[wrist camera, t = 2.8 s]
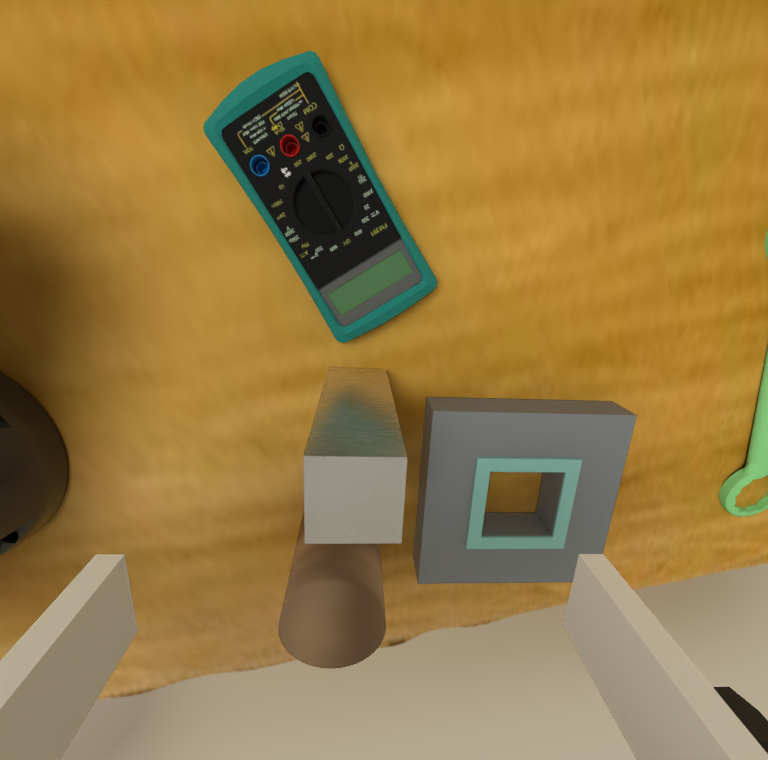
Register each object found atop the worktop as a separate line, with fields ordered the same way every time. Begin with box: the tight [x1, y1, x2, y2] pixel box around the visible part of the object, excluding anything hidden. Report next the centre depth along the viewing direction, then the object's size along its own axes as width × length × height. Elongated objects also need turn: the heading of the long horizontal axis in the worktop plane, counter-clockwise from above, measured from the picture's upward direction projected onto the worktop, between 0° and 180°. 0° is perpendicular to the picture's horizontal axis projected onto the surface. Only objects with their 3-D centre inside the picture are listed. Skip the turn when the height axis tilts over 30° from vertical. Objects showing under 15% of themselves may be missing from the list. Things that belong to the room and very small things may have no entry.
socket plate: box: [413, 397, 637, 584], centre depth 30 cm, size 14×14×3 cm
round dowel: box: [279, 512, 386, 668], centre depth 26 cm, size 6×6×10 cm
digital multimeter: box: [204, 51, 437, 343], centre depth 24 cm, size 7×15×3 cm, turn 30°
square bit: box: [303, 367, 407, 544], centre depth 22 cm, size 4×4×13 cm
